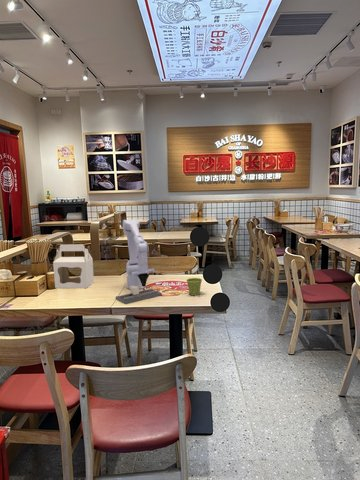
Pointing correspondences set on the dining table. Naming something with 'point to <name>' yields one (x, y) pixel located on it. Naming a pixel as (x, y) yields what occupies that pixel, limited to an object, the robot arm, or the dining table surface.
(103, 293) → the dining table surface
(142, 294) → the fader console
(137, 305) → the dining table surface
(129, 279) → the robot arm
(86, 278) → the gable box
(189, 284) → the plant pot
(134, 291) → the fader tab
